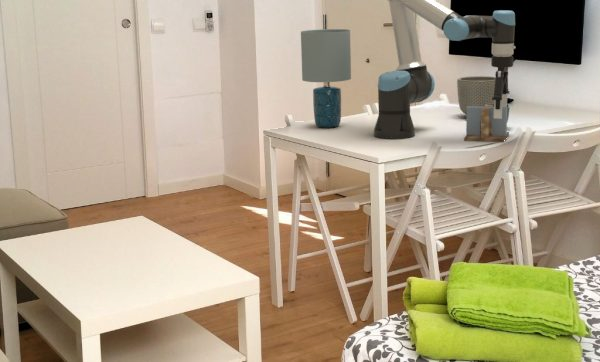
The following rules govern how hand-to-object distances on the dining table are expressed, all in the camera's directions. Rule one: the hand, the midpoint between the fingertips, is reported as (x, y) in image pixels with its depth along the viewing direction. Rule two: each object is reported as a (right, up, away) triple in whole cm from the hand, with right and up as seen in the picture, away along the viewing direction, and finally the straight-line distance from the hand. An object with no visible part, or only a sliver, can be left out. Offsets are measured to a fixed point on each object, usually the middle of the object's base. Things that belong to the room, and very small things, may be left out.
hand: (500, 115), depth 318 cm
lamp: (-60, -2, +38) cm, 71 cm away
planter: (+2, +2, +47) cm, 47 cm away
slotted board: (-4, -7, +3) cm, 9 cm away
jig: (-4, -8, +3) cm, 10 cm away
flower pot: (+4, -4, +21) cm, 22 cm away
